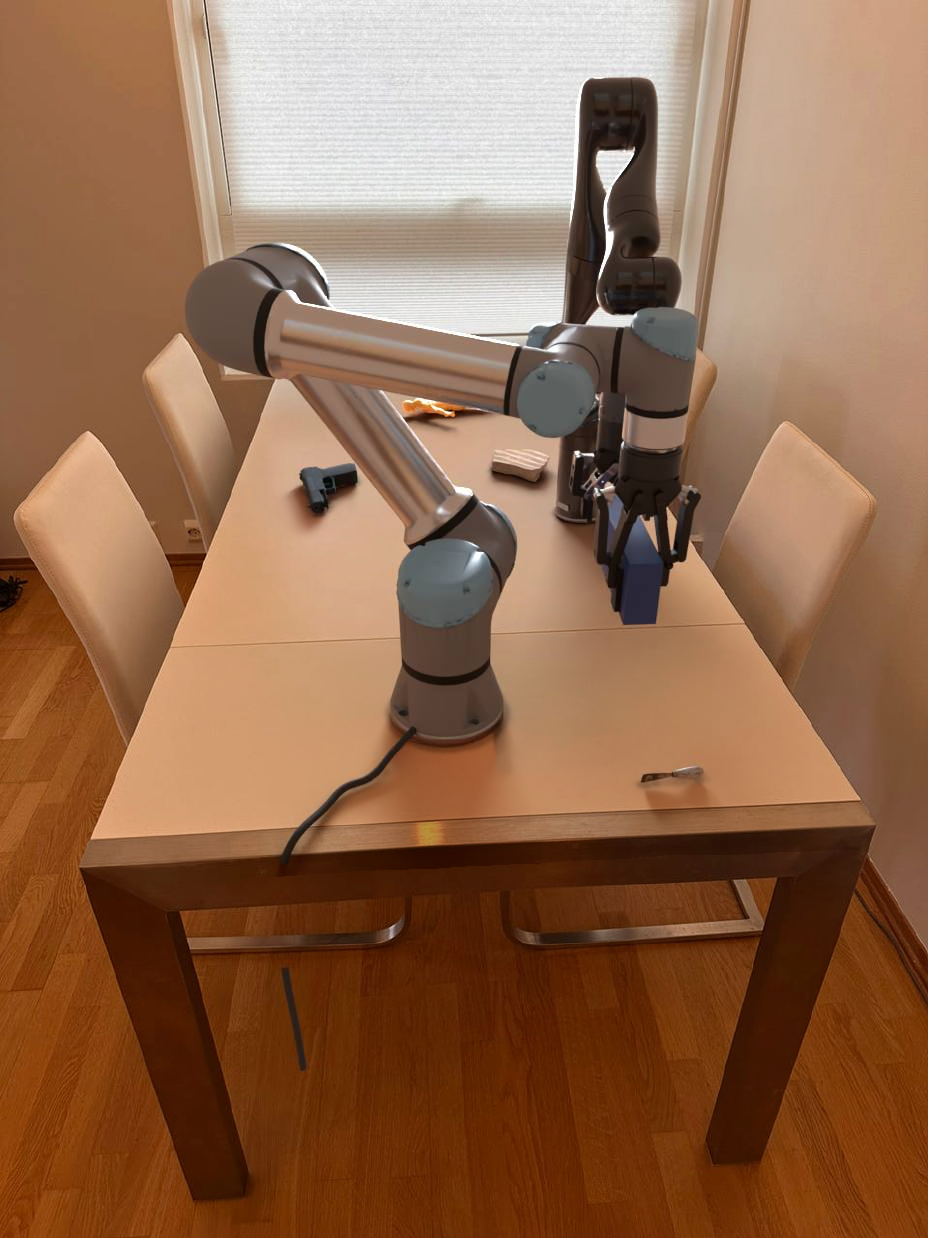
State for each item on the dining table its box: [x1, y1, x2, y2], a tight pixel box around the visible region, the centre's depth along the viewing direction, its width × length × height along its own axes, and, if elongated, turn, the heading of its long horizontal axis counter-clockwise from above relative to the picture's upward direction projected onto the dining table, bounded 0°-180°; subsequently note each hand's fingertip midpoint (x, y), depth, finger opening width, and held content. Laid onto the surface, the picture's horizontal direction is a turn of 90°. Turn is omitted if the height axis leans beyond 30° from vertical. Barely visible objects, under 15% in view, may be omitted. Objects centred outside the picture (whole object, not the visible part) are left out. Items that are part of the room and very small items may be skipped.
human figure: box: [402, 397, 466, 418], centre depth 225 cm, size 20×20×4 cm
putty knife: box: [640, 765, 705, 784], centre depth 109 cm, size 1×8×2 cm, turn 103°
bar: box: [593, 495, 664, 626], centre depth 125 cm, size 23×4×9 cm, turn 3°
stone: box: [489, 448, 550, 483], centre depth 192 cm, size 13×12×2 cm
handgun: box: [298, 462, 359, 515], centre depth 181 cm, size 3×18×12 cm
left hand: (633, 606), depth 121 cm, fingers closed on bar, 4 cm apart
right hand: (616, 519), depth 131 cm, fingers open, 8 cm apart
